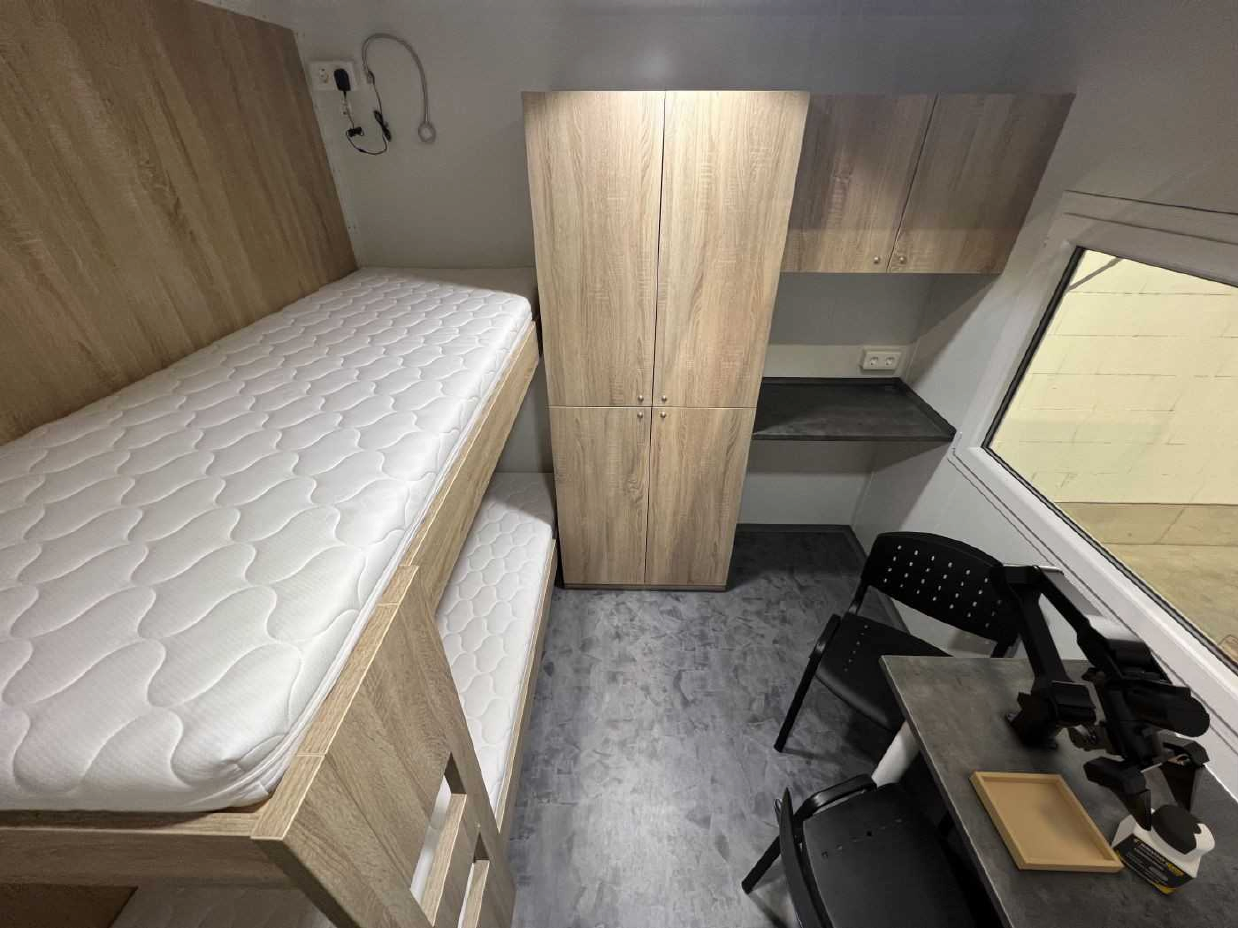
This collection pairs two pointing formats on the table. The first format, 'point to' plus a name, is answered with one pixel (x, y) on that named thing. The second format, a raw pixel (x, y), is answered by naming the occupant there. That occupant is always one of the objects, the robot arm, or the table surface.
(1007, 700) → the table surface
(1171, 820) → the medicine bottle
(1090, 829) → the tray
